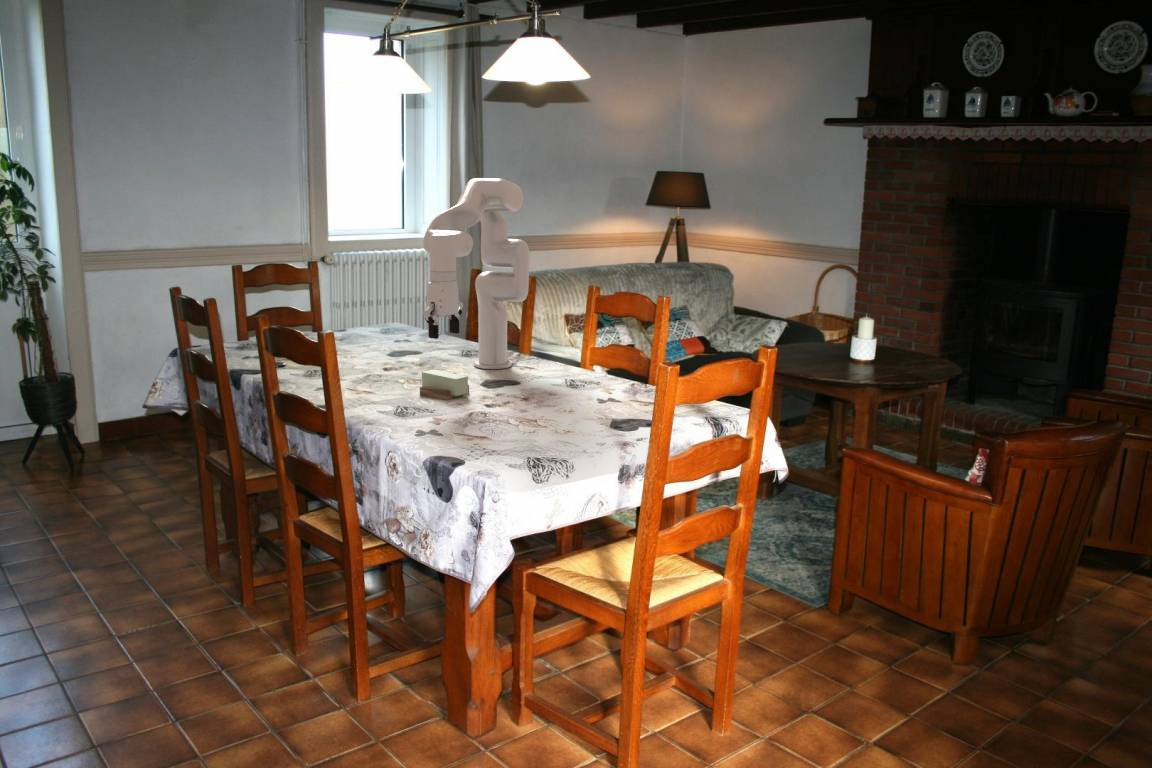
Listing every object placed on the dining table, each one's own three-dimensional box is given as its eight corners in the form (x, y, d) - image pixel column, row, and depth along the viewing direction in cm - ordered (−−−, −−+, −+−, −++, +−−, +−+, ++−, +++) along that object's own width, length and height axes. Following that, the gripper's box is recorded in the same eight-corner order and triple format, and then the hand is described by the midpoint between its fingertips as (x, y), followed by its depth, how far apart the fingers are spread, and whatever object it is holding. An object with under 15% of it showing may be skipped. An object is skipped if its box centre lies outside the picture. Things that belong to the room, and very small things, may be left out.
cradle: (442, 388, 297) (442, 380, 297) (469, 392, 293) (468, 384, 292) (419, 395, 289) (419, 387, 288) (447, 400, 284) (447, 391, 283)
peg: (434, 385, 297) (434, 369, 295) (467, 393, 288) (467, 376, 287) (422, 388, 293) (421, 372, 292) (455, 396, 284) (455, 379, 283)
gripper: (451, 272, 292) (452, 329, 296) (413, 279, 277) (414, 338, 281) (471, 274, 288) (472, 332, 292) (434, 281, 274) (435, 341, 278)
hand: (444, 335), depth 287 cm, fingers open, 9 cm apart
